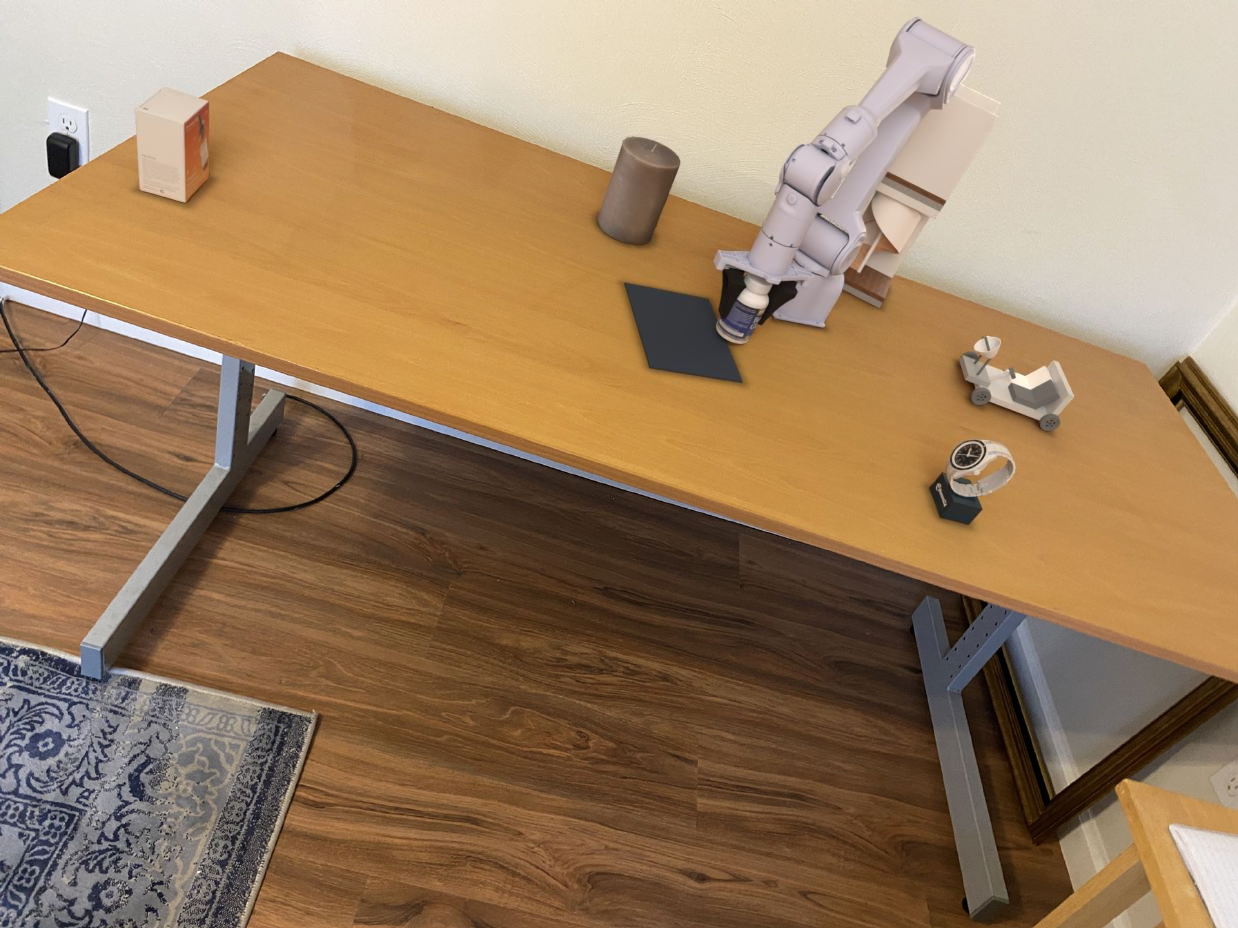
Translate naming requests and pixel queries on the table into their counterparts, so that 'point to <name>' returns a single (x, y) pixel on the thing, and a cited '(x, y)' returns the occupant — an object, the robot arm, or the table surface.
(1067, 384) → the toy car
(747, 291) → the pill bottle
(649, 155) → the pillar candle
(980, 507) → the watch
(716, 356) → the felt mat
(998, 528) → the table surface
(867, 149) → the robot arm
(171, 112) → the small box
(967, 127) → the tall cream cabinet
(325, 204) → the table surface
